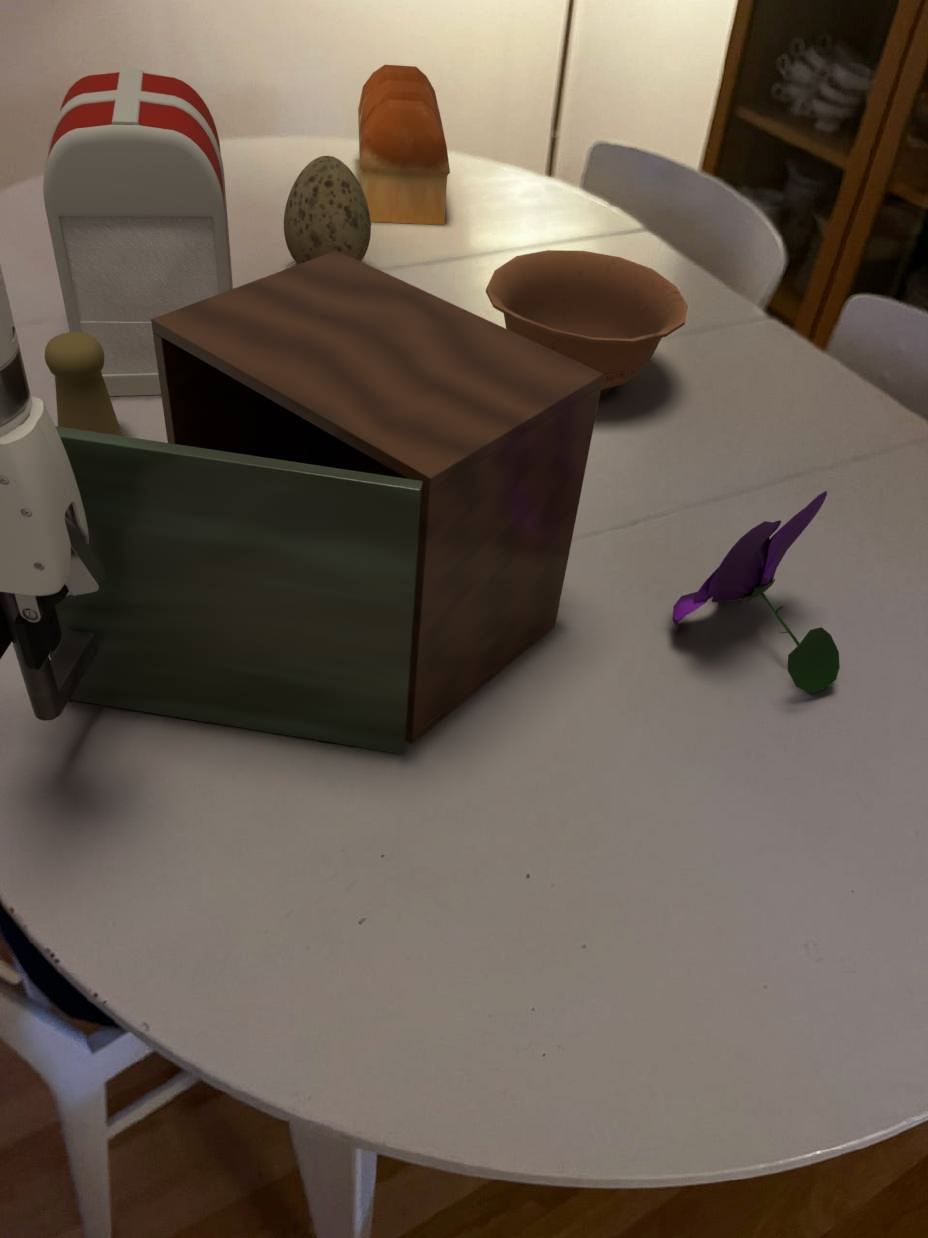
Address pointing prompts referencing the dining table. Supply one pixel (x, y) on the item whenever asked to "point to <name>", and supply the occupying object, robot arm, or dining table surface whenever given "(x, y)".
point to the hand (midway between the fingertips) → (22, 648)
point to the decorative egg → (326, 212)
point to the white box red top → (135, 214)
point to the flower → (750, 577)
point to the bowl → (589, 308)
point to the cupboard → (403, 440)
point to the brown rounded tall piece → (80, 383)
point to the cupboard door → (238, 593)
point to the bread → (402, 147)
